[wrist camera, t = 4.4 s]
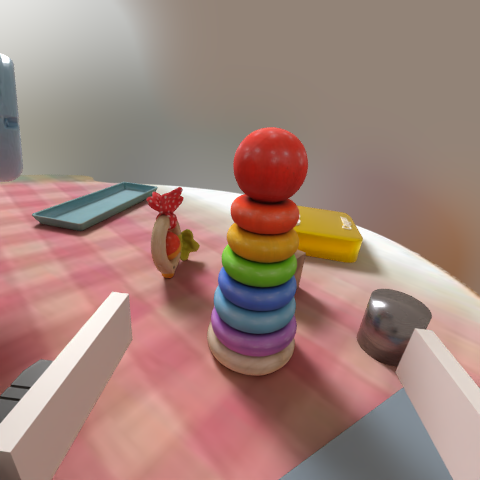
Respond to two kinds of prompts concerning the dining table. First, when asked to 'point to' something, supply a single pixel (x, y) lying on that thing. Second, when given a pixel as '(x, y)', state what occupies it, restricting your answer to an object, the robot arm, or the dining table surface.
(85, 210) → the rectangular tray
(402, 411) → the pad
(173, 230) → the bird rattle
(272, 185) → the stacking toy
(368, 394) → the dining table surface
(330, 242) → the element tile
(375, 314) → the graphite cylinder
